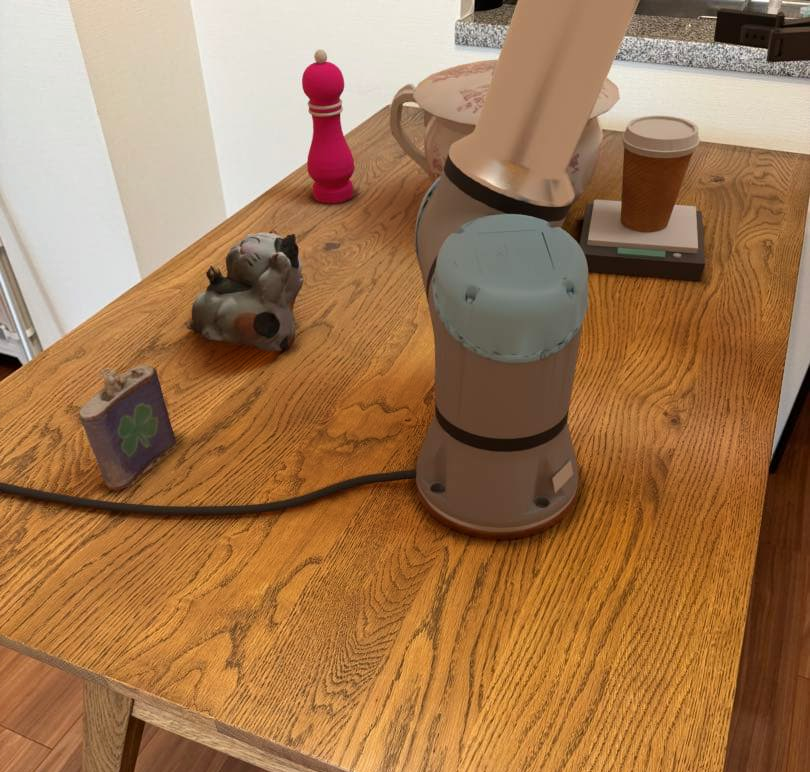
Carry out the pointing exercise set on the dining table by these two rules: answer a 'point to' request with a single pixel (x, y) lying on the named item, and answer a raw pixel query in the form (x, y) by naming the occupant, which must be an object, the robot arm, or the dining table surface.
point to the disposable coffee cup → (654, 169)
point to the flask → (128, 425)
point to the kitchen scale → (643, 244)
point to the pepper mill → (327, 132)
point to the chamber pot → (459, 111)
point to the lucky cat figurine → (252, 294)
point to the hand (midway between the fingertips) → (756, 1)
